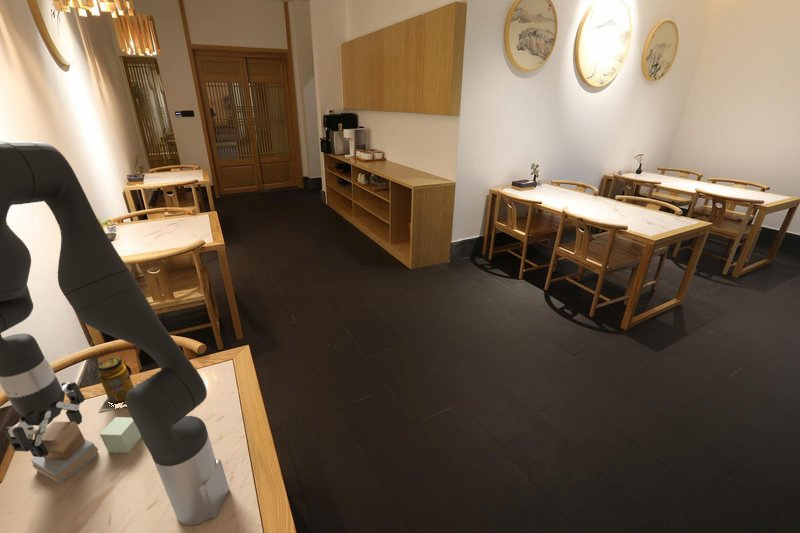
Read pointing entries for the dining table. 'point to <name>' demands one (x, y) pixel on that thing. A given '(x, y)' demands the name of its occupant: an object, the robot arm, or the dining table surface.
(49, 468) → the slate base
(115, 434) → the sage block
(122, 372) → the condiment
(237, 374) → the dining table surface
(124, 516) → the dining table surface
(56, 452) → the walnut block
